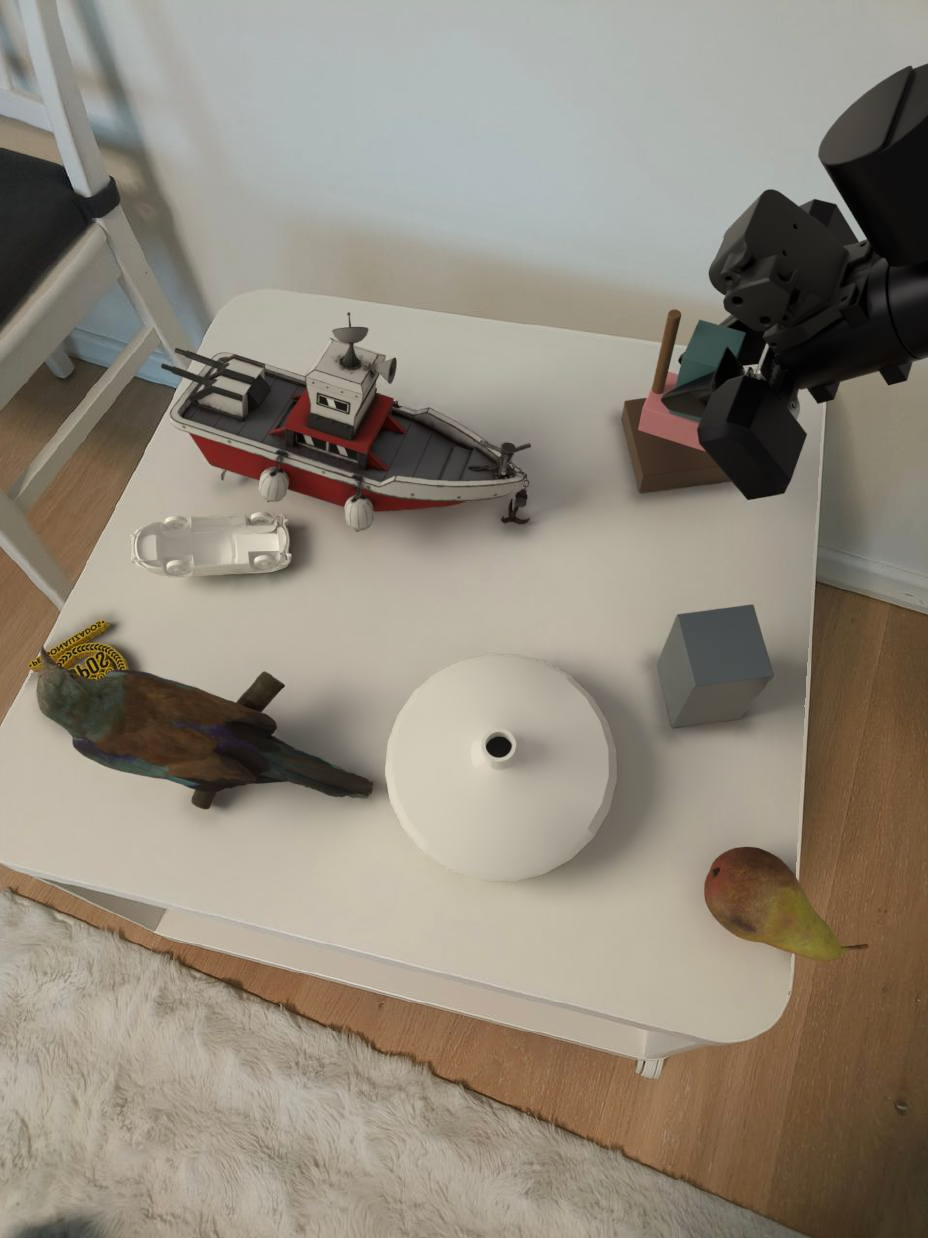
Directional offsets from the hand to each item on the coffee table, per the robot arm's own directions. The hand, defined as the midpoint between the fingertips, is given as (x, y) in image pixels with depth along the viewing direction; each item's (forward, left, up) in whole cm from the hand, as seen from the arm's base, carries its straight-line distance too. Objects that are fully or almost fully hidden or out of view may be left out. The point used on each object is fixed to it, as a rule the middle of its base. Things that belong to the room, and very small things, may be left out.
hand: (673, 382), depth 56 cm
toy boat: (+23, -5, -14) cm, 27 cm away
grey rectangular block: (0, +17, -14) cm, 22 cm away
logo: (+47, +6, -13) cm, 49 cm away
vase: (+15, +21, -14) cm, 29 cm away
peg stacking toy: (-1, +1, -4) cm, 4 cm away
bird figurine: (+33, +17, -14) cm, 40 cm away
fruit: (+2, +30, -10) cm, 31 cm away
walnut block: (-3, -4, -14) cm, 15 cm away
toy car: (+34, +1, -10) cm, 36 cm away
